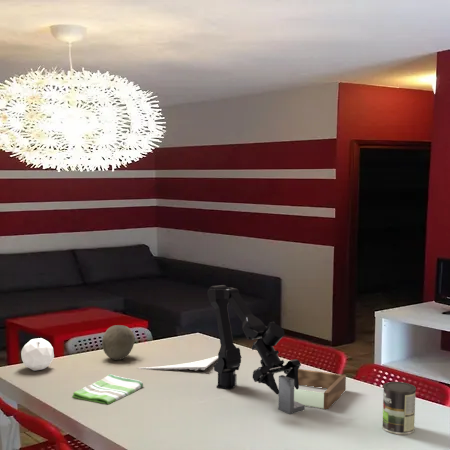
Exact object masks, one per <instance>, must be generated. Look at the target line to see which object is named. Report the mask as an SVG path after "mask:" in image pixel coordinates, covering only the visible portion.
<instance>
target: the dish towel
mask: <svg viewBox="0 0 450 450" xmlns="http://www.w3.org/2000/svg"><path fill="white" fill-rule="evenodd" d="M143 386H144V382H143V381H141V380H138V379H133V378H129V377H127V378H126V377H122V376H118V375H114V374H111V373H109V374H107V376H104V377H103V378H102V379H100V380H98V381H95V382H92V384H90V385H86V386H84V387H82V388H80V389H77V390H76V391H74V392H73V393H72V395H71V396H72V398H75V399H79V400H84V401H89V402H93V403H94V402H95V403H100V404H103V405H110V404H112V403H114V402H116V401H119V400H121V399H123V398H125V397H126V396H128V395H131V394H134V393H135V392H137V391H138V390H140V389H142V388H143Z"/></svg>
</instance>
